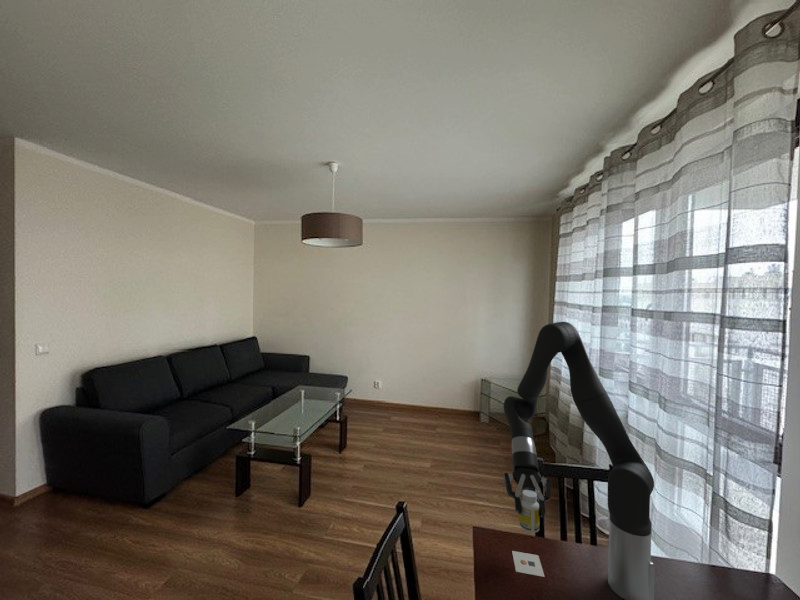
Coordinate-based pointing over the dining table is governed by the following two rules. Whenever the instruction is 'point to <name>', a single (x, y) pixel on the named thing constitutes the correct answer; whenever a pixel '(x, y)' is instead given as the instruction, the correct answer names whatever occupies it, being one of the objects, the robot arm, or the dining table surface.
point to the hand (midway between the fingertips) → (530, 514)
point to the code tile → (527, 563)
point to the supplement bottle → (529, 511)
